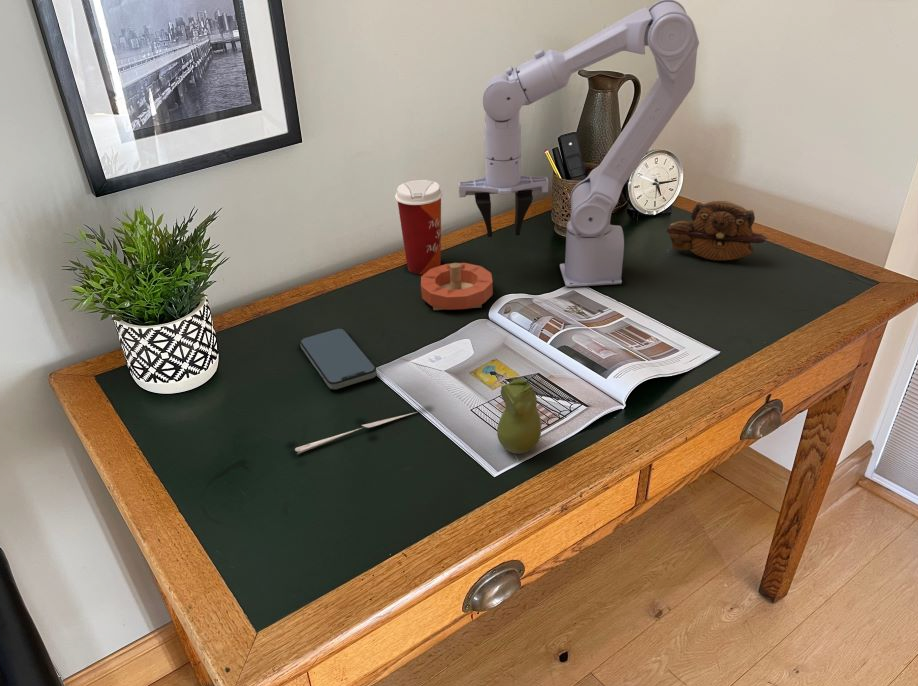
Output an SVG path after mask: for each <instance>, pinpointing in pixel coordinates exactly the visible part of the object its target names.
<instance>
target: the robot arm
mask: <svg viewBox="0 0 918 686" xmlns="http://www.w3.org/2000/svg"><path fill="white" fill-rule="evenodd" d="M699 45H700V40H699V36H698V33H697V30H696V27H695V23H694V21H693V20H692V18H691V17H690V16H689V15H688V14H687V11H686V9H685V7H684V6H683V5H682V4H681V3H680V2H679V1H677V0H658V1H657V2H655V3H653V4H652V5H651V6H650V7H649V8H648V6H646V7H642V8H639V9H637V10H636V11H634V12H632V13H630V14H628V15H627V16H624V17H622V18H621V19H619V20H617V21H616V22H614V23H612V24H611V25H609V26H607V27H606V28H604V29H602V30H600V31H598V32H597V33H595V34H593V35H592V36H590V37H588V38H586V39H585V40H583V41H581V42H579V43H578V44H575V45H574V46H572V47H570V48H569V49H567V50H565V51H559V50H556V49H554V48H553V49H552V48H551V49H548V50H547V51H544V49H543V48H540V49H539V50H537V51H535V52H534V57H533V58H532V59H530V60H528V61H525V62H524V63H521V64H519V65H517V66H516V67H513V66H509V67H507V68H506V69H505V73H503V72H500V73H498V74H495V75H493V76H492V77H491V78H490V79H489V80H488V82H487V83H486V86H485V89H484V93H483V95H482V107H483V110H484V112H485V114H484V122H485V126H484V167H485V168H484V170H485V172H484V173H485V177H481V178H476V179H471V180H466V181H465V180H464V181H458V198H466V197H467V196H474V199H475V204H476V206H477V208H478V210H479V212H480V214H481V217H482V219H483V221H484V224H485V227H486V232H487V237H488V238H492V237H493V227H492V202H491V195H497V194H498V195H500V196H501V195H502V196H503V195H511V194H514V199H515V200H514V201H515V202H514V203H515V205H514V207H515V210H514V211H515V215H514V234H515V236H521V231H522V227H523V222H524V219H525V217H526V214H527V212H528V210H529V208H530V207H531V205H532V203H533V200H534V199H533V198H534V195H533V193H534V192H541V193H542V194H543V193H549V179H548V177H547V176H528V175H522V126H521V122H520V111H521V109H522V107H523V106H530V105H532V104H533V103H535V102H537V101H539V100H542V99H543V98H545V97H546V98H547V96H550V95H551V94H553V93H555V92H557V91H559V90H562V89H563V88H566V87H567V86H568V85H569V81H570V78H571V76H572V74H574V73H576V72H579V71H582V70H584V69H586V68H588V67H591V66H592V65H594V64H597V63H598V62H601V61H603V60H605V59H607V58H610V57H611V56H614V55H617V54H618V53H620V52H629V53H634V54H637V55H645V54H646V48H645V47H648V48H649V49H650V51H651V53H652V55H653V59H654V62H655V67H656V72H657V78H656V79H655V81H654V83H653V84H652V85H651V87H650V89H649V90H648V92H647V93H646V95H645V96H644V97H643V99H642V101H641V102H640V103H639V105H638V106H637V108H636V110H635V111H634V112H633V114H632V116H631V118H629V120H628V122H627V123H626V124H625V126H624V128H623V129H622V131H621V132H620V133H619V135H618V137H617V138H616V140H615V141H614V143H613V144H612V145H611V147H610V149H609V151H608V152H607V153H606V155H605V156H604V158H603V159H602V160H601V162H600V163H599V165H598V166H596V167H595V168H594V169H592V170H591V171H590V173H588V175H587V177H585V178H584V179H583V180H582V181H580V182H578V183H576V184H575V185H574V187H572V188H573V189H572V190H571V191H570V195H569V204H570V207H571V208H570V220H568V222H566V232H565V233H566V234H565V253H564V255H565V258H564V260H565V261H564V263H560V264H559V269H560V273H561V276H562V279H563V282H564V285H565V287H567V288H573V287H574V288H576V287H591V286H593V287H594V286H607V285H608V286H610V285H611V286H613V285H621V284H622V283H623V280H622V274H623V262H624V254H625V253H624V252H625V235H624V231H623V227H622V226H621V225H615V224H611V220H612V219H611V218H612V213H613V211H614V209H615V207H616V206H617V205H618V202H619V199H620V197H621V194H622V190H623V188H624V186H625V184H626V183H627V181H629V179H630V177H631V176H632V174H633V173H634V171H635V170H636V169H637V167H638V166H639V164H640V163H641V162H642V160H643V159H644V157H645V156H646V155H647V153H648V152H649V150H650V149H651V147H652V146H653V144H654V143H655V141H656V140H657V139H658V137H659V136H660V135H661V133H662V132H663V130H664V129H665V127H666V126H667V124H668V123H669V122H670V121H671V119H672V117H673V116H674V115H675V113H676V112H677V111H678V109H679V107H680V106H681V105H682V103H683V102H684V100H685V99H686V97H687V96H688V94H689V93H690V92H691V90H692V89H693V86H694V85H695V80H696V67H697V55H698V49H699Z"/></svg>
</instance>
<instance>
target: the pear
mask: <svg viewBox="0 0 918 686" xmlns="http://www.w3.org/2000/svg"><path fill="white" fill-rule="evenodd" d="M500 396H501V398H502V401H503V402H504V405H505V408H504V410H503V412H502V414H501V416H500V418H499V421H498V424H497V429H496V435H497V439H498V442H499V443H500V445H501V446H502V448H504V449H505V451H507V452H510V453H511V454H518V455H521V454H526V453H528V452H530V451H532V450H533V449H535V447H536V446H537V445H538V444H539V442H540V439H541V435H542V421H541V415H540V411H539V408H537V404H538V397H537V394H536V391H534V389H533V388H532V385H531V383H530V381H529V380H528V381H526V380H525V379H521V378H515V379H513V380H512V381H510V382H507V383H505V384H503V385H501V389H500Z"/></svg>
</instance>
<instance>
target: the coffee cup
mask: <svg viewBox="0 0 918 686" xmlns="http://www.w3.org/2000/svg"><path fill="white" fill-rule="evenodd" d="M443 196H444V192H443V191H442V189H441V186H440V184H439V183H438V182H436V181H433V180H428V179H415V180H414V179H413V180H410V181H406V182H403V183H400V185H399V186H397V188H396V193H395V195H394V198H395V200H396V201H397V207H398V214H399V220H400V228H401V234H402V241H403V247H404V253H405V254H404V255H405V260H406V265H407V270H408V271H409V272H410V273H412V274H414V275H415V274H416V275H424V274H425V273H426V272H428V271H429V270H430V269H432V268H435V267H438V266H441V261H442V260H441V259H442V198H443Z"/></svg>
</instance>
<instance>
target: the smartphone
mask: <svg viewBox="0 0 918 686" xmlns="http://www.w3.org/2000/svg"><path fill="white" fill-rule="evenodd" d="M299 345H300V348H301V350H302V351H303V353H304V354H305V356H306V357H307V358H308V360H309V361H310V363H311V365H312V366H313V367H314V368H315V370H316V372H317V373H318V374H319V376H320V377H321V379H322V380H323V381H324V383H325V384H326V386H327V388H329V389H330V390H338V389H342V388H345V387H348V386H352V385H355V384H358V383H361V382H364V381H368V380H371V379H373V378H375V377H377V375H378V372H377V371H378V370H377V367H376V366H375V365H374V364H373V362H372V361H371V360H370V358H369V357H368V356H367V355H366V354H365V353H364V351H363V350H362V349H361V348H360V347H359V345H358V344H357V343H356V342H355V341H354V340H353V338H352V337H351V336H350V334H349V333H348V331H346V330H345V329H344V328H343V329H342V328H336V329H332V330H328V331H325V332H321V333H318V334H315V335H314V334H313V335H311V336H307V337H304V338H302V339H301V340H300V341H299Z"/></svg>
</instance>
